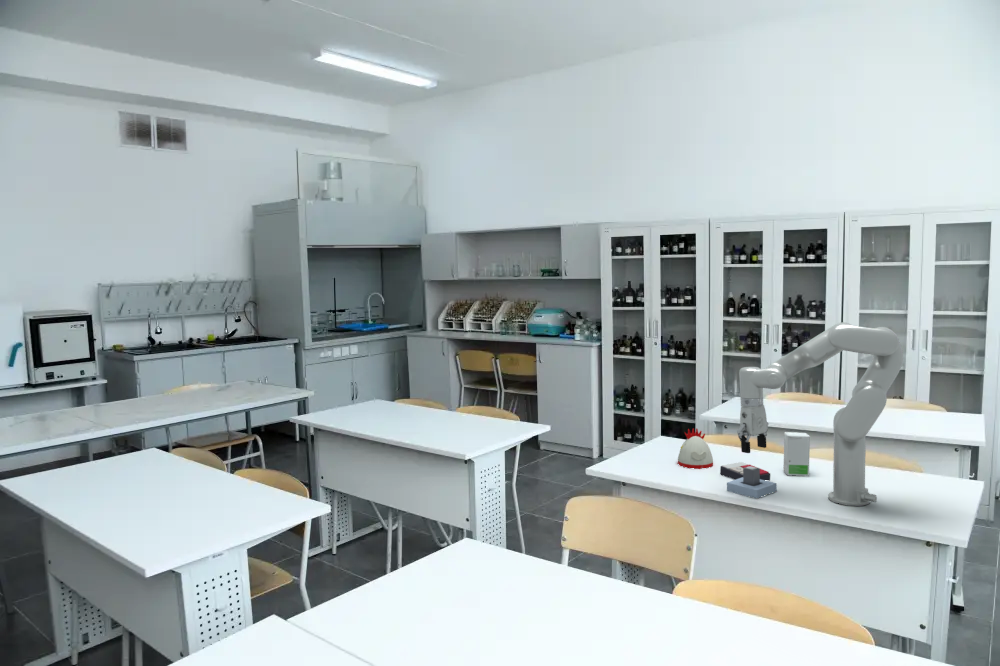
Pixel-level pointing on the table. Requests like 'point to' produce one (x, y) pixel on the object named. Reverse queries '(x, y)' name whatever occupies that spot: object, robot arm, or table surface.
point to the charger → (751, 476)
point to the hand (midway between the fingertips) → (754, 449)
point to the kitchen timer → (695, 452)
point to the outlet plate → (751, 488)
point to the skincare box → (796, 453)
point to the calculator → (740, 471)
